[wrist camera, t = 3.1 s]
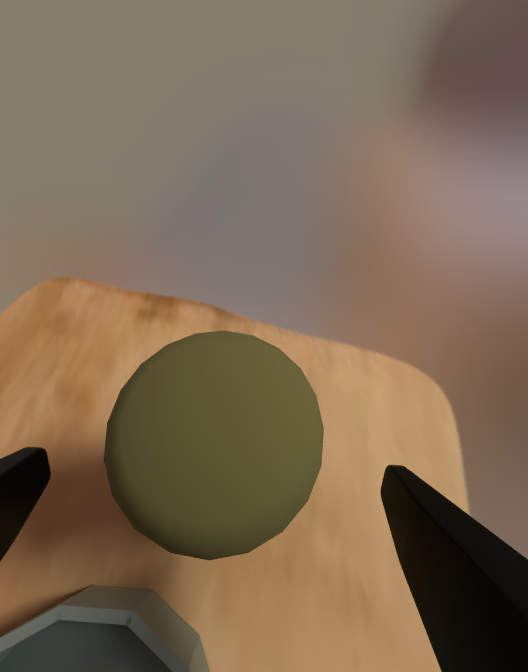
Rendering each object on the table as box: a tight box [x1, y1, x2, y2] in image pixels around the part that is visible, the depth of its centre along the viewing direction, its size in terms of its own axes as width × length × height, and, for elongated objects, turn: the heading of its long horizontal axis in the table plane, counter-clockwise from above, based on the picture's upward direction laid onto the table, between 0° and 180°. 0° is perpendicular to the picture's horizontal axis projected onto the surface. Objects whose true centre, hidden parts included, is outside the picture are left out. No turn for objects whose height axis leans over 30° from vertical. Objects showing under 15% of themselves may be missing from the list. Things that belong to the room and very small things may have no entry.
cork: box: [104, 331, 324, 560], centre depth 11 cm, size 6×6×11 cm
